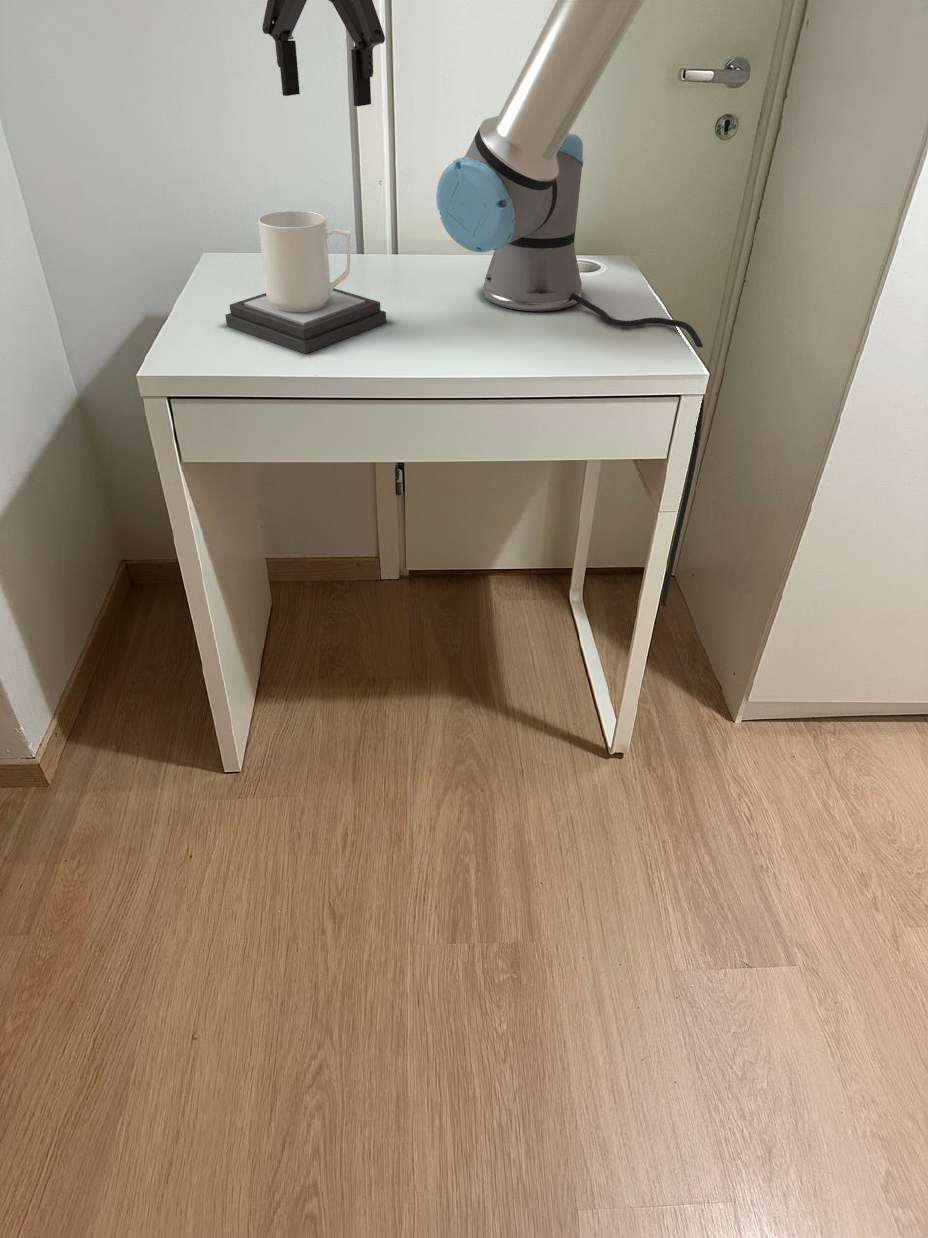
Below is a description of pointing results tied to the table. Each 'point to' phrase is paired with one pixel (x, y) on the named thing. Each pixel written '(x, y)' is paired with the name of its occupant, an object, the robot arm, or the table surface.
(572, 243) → the robot arm
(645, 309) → the table surface
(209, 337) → the table surface
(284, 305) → the mug
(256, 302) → the light grey square tile
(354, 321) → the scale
